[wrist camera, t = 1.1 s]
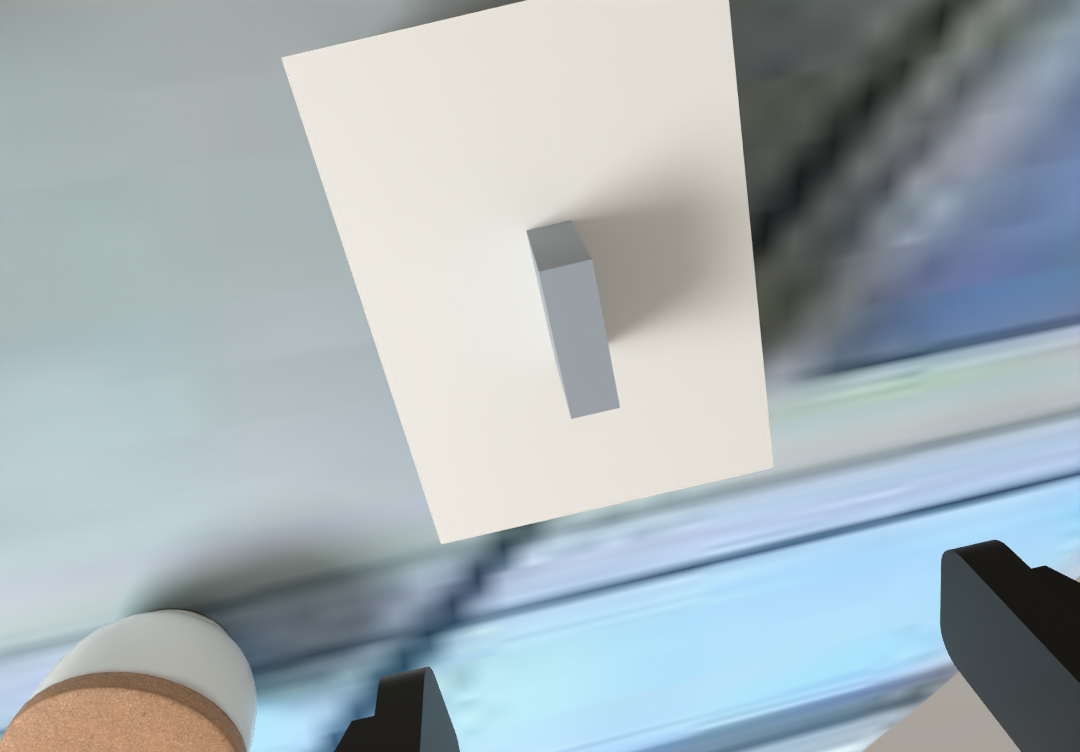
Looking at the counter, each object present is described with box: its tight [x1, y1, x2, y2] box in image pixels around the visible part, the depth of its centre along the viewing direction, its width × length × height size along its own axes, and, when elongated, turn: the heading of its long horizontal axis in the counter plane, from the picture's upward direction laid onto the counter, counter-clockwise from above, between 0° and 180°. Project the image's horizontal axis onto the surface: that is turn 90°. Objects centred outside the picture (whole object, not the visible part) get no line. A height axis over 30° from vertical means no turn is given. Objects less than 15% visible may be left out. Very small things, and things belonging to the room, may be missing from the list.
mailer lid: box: [282, 0, 773, 544], centre depth 27 cm, size 19×14×8 cm
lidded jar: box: [0, 609, 257, 752], centre depth 38 cm, size 11×11×9 cm
